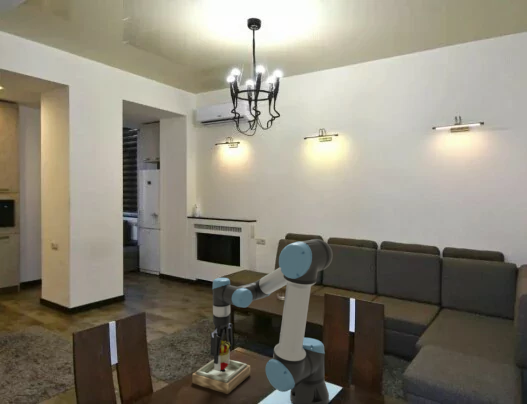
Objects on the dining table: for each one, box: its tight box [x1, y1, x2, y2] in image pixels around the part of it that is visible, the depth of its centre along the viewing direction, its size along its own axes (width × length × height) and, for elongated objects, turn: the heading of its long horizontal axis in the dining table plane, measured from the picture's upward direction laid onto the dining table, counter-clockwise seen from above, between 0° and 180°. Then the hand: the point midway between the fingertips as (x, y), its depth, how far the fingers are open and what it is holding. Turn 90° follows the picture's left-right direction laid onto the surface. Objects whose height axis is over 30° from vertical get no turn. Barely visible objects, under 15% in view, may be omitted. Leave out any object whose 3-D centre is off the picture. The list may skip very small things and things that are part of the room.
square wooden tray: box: [192, 358, 251, 395], centre depth 157 cm, size 18×18×5 cm
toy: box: [219, 339, 230, 372], centre depth 157 cm, size 7×7×15 cm
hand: (222, 366), depth 157 cm, fingers closed on toy, 6 cm apart
